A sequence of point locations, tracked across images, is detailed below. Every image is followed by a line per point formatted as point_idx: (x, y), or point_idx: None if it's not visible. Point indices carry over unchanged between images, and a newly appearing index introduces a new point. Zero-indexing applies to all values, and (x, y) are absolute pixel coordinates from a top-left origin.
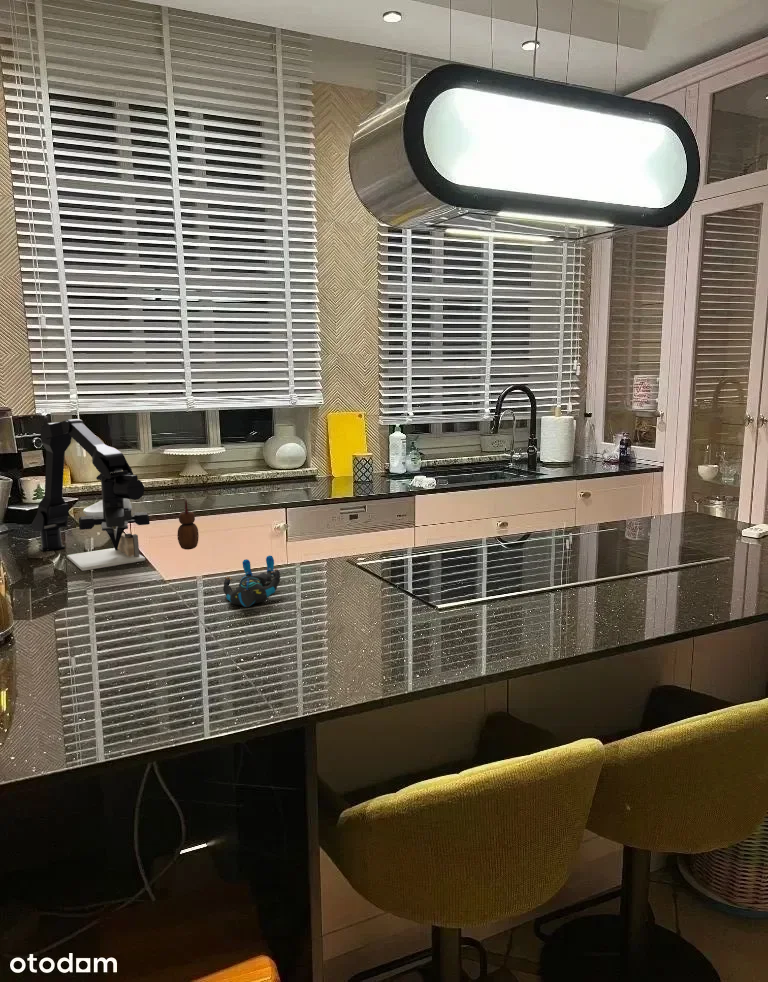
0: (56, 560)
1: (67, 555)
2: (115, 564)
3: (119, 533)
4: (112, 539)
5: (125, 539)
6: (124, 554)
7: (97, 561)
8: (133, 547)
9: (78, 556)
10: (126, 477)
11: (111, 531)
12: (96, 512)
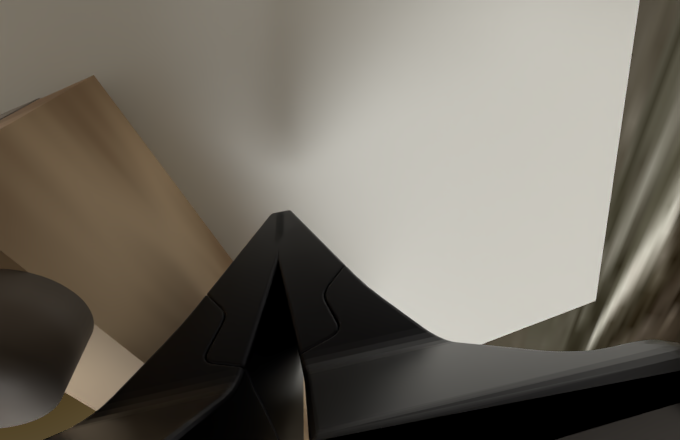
0: (647, 249)
1: (596, 293)
2: None
3: (177, 384)
4: (328, 274)
5: (107, 296)
6: (223, 241)
7: (454, 27)
8: None
9: (552, 259)
10: None
11: (367, 380)
12: None
